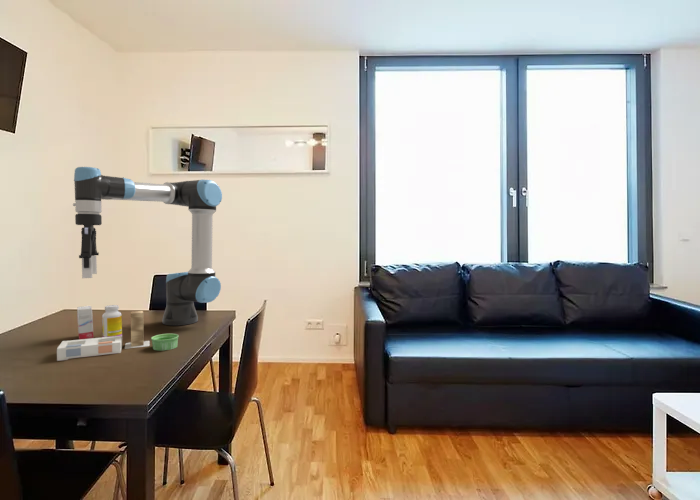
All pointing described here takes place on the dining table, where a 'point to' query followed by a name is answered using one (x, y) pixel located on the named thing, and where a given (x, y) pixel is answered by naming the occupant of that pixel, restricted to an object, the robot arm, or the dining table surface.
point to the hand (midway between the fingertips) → (89, 276)
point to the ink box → (85, 322)
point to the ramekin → (164, 341)
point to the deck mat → (128, 345)
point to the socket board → (89, 347)
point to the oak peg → (137, 328)
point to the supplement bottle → (112, 321)
